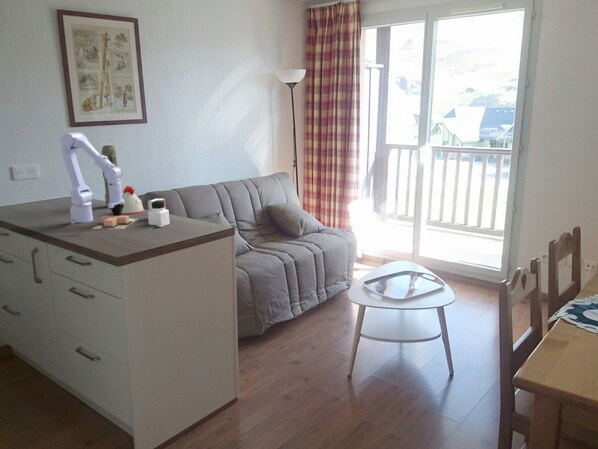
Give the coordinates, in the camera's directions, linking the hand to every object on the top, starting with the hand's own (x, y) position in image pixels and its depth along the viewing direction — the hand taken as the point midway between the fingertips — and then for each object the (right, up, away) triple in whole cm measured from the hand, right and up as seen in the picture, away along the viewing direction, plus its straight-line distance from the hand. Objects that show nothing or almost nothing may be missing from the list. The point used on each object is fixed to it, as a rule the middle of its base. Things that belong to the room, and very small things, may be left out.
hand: (118, 219), depth 231 cm
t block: (0, -2, -5) cm, 5 cm away
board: (0, -3, -2) cm, 3 cm away
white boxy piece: (+17, 0, +8) cm, 19 cm away
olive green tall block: (-19, +8, +45) cm, 50 cm away
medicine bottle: (+21, -3, -2) cm, 21 cm away
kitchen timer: (-3, +3, +25) cm, 26 cm away
